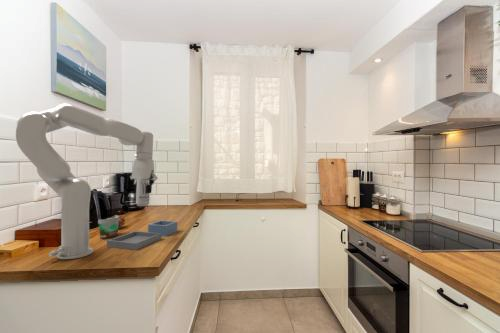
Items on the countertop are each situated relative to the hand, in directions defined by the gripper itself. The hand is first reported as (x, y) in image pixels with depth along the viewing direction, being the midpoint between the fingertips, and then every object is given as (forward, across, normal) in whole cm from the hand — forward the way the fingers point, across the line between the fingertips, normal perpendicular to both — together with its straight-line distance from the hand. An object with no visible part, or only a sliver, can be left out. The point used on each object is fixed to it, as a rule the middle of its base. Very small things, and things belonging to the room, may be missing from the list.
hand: (142, 192), depth 127 cm
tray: (+24, 0, -4) cm, 24 cm away
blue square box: (+23, +2, +15) cm, 28 cm away
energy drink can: (+7, 0, 0) cm, 7 cm away
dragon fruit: (+24, -30, +16) cm, 41 cm away
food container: (+24, -19, +1) cm, 31 cm away
